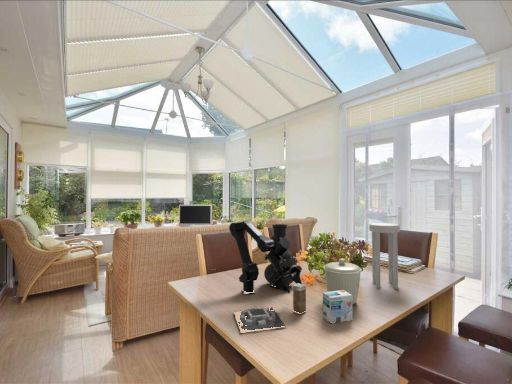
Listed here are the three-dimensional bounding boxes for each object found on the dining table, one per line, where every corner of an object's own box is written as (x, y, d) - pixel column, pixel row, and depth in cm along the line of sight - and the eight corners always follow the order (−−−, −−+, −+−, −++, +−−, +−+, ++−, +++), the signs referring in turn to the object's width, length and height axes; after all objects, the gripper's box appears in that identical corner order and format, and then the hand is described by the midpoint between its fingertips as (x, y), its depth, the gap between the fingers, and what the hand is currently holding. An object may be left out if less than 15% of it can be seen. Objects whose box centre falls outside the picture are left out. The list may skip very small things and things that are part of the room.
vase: (302, 288, 152) (301, 225, 152) (272, 293, 145) (271, 227, 145) (286, 279, 169) (286, 222, 169) (259, 282, 162) (258, 224, 162)
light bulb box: (330, 324, 110) (330, 297, 110) (322, 317, 116) (321, 291, 116) (353, 320, 113) (353, 294, 113) (344, 314, 119) (343, 289, 119)
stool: (372, 288, 151) (372, 225, 152) (368, 279, 166) (367, 222, 167) (403, 290, 148) (402, 226, 148) (395, 281, 163) (395, 223, 163)
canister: (345, 292, 145) (344, 253, 145) (370, 305, 128) (370, 260, 128) (316, 297, 138) (315, 256, 138) (339, 312, 121) (338, 264, 121)
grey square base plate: (233, 313, 120) (233, 305, 120) (272, 309, 124) (272, 301, 124) (240, 333, 103) (240, 324, 103) (285, 328, 107) (285, 319, 107)
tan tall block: (293, 312, 121) (292, 285, 121) (298, 309, 124) (298, 283, 124) (300, 315, 118) (300, 287, 118) (306, 312, 121) (305, 285, 121)
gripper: (272, 254, 120) (292, 285, 112) (298, 248, 133) (318, 275, 125) (260, 269, 126) (278, 299, 118) (286, 262, 139) (304, 288, 131)
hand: (295, 290), depth 123 cm, fingers open, 9 cm apart
